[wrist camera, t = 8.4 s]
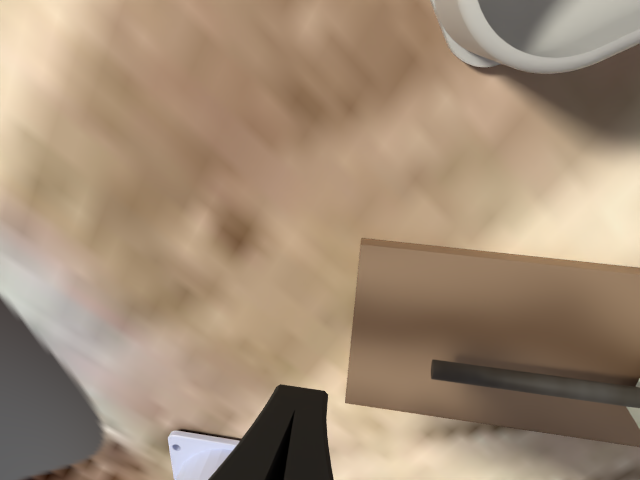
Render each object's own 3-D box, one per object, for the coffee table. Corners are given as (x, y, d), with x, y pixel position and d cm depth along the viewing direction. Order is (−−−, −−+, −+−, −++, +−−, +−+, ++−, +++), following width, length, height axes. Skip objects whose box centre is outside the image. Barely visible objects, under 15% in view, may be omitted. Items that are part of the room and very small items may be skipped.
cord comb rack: (772, 456, 21) (922, 628, 15) (346, 394, 23) (329, 521, 17) (891, 294, 17) (1162, 442, 11) (361, 238, 19) (347, 334, 13)
